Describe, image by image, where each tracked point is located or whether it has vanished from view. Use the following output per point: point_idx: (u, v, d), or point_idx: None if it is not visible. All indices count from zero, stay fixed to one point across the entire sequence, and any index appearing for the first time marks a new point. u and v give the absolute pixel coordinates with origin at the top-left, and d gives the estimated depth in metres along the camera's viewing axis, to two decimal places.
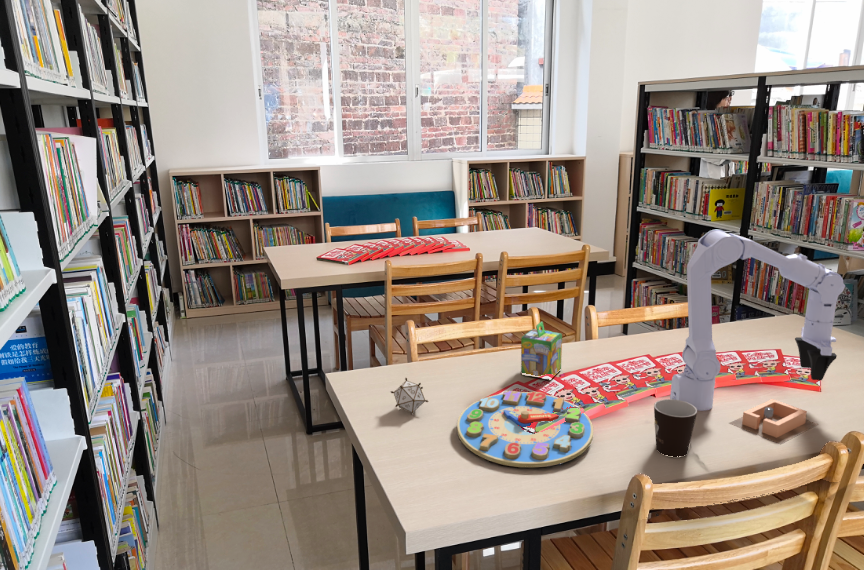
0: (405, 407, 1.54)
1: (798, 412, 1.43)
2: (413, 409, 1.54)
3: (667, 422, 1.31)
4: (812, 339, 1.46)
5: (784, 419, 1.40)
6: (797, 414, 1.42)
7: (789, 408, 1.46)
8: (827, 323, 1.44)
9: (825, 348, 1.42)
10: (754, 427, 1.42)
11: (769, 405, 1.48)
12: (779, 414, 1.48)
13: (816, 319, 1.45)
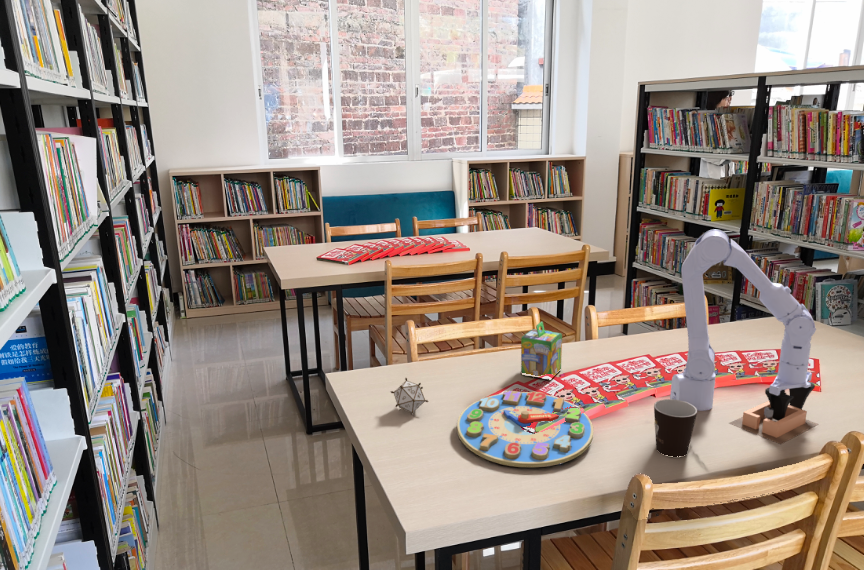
0: (405, 407, 1.54)
1: (798, 412, 1.43)
2: (413, 409, 1.54)
3: (667, 422, 1.31)
4: (778, 378, 1.45)
5: (784, 419, 1.40)
6: (797, 414, 1.42)
7: (789, 408, 1.46)
8: (791, 365, 1.42)
9: (772, 387, 1.42)
10: (754, 427, 1.42)
11: (769, 405, 1.48)
12: None
13: (786, 360, 1.42)
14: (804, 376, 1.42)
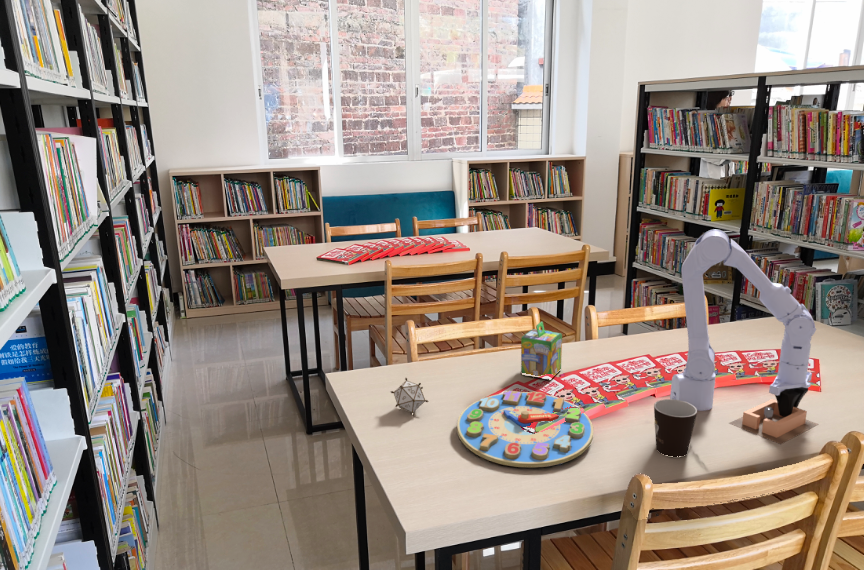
0: (405, 407, 1.54)
1: (798, 412, 1.43)
2: (413, 409, 1.54)
3: (667, 422, 1.31)
4: (778, 378, 1.45)
5: (784, 419, 1.40)
6: (797, 414, 1.42)
7: None
8: (791, 365, 1.42)
9: (772, 387, 1.42)
10: (754, 427, 1.42)
11: (769, 405, 1.48)
12: None
13: (786, 360, 1.42)
14: (804, 376, 1.42)
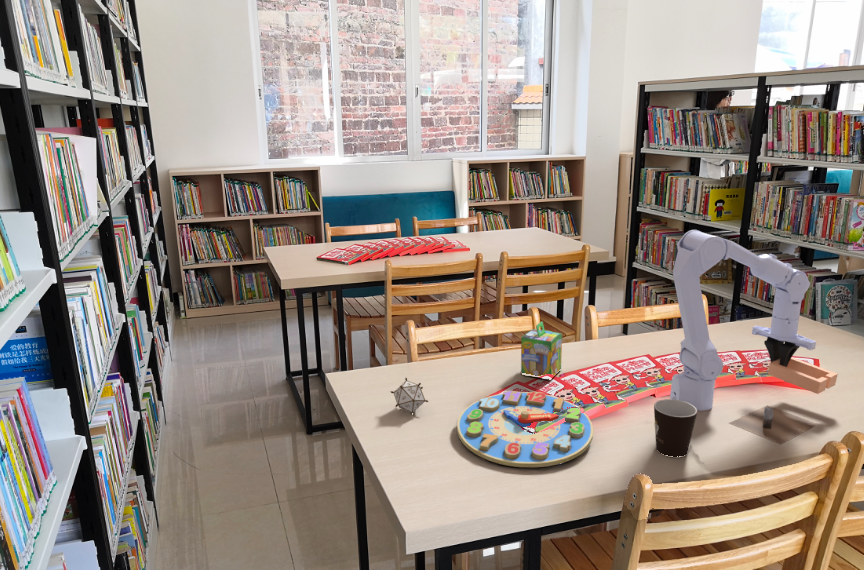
0: (405, 407, 1.54)
1: (794, 359, 1.56)
2: (413, 409, 1.54)
3: (667, 422, 1.31)
4: (789, 337, 1.51)
5: (819, 368, 1.51)
6: (800, 360, 1.55)
7: None
8: (798, 319, 1.51)
9: (813, 343, 1.48)
10: (824, 389, 1.47)
11: None
12: None
13: (785, 317, 1.50)
14: None
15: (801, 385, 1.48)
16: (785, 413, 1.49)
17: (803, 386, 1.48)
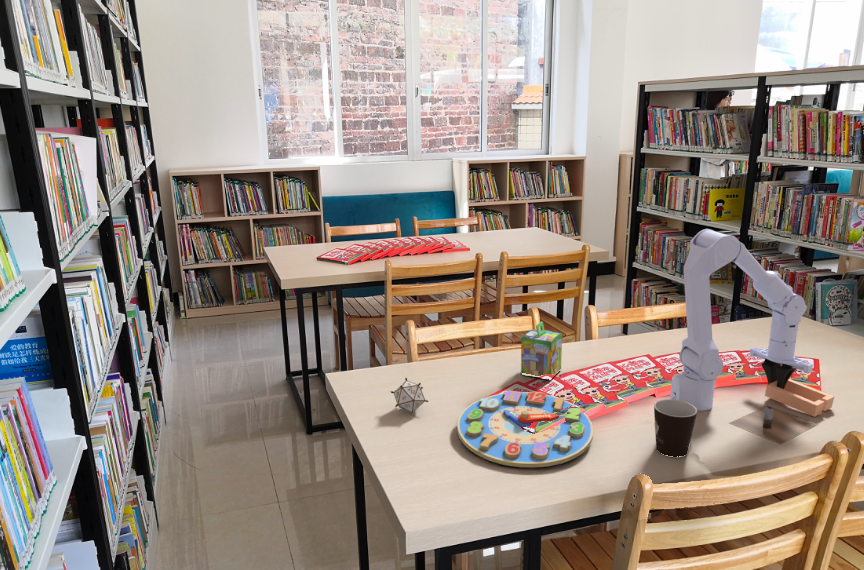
0: (405, 407, 1.54)
1: (791, 381, 1.57)
2: (413, 409, 1.54)
3: (667, 422, 1.31)
4: (786, 359, 1.52)
5: (816, 390, 1.53)
6: (797, 382, 1.57)
7: None
8: (795, 341, 1.52)
9: (809, 366, 1.49)
10: (821, 412, 1.48)
11: None
12: None
13: (782, 340, 1.51)
14: None
15: (798, 408, 1.50)
16: (785, 413, 1.49)
17: (800, 409, 1.49)
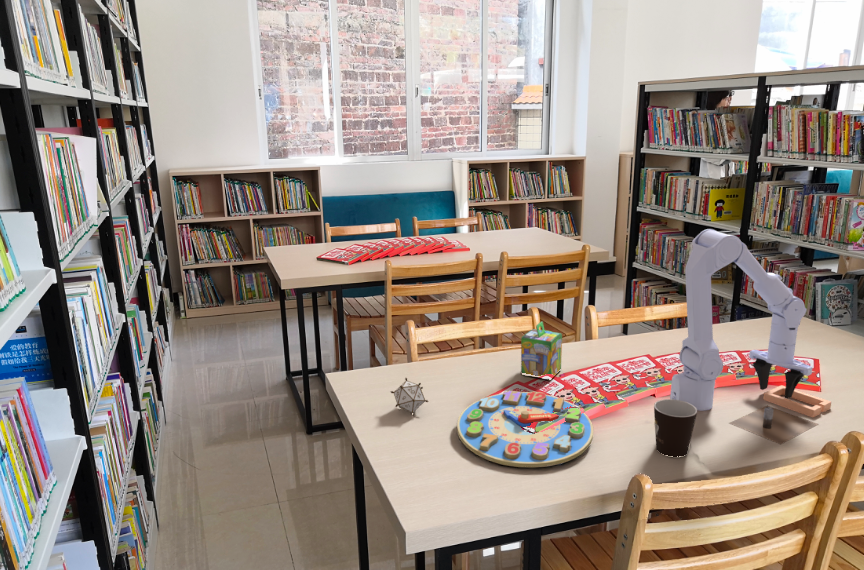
0: (405, 407, 1.54)
1: None
2: (413, 409, 1.54)
3: (667, 422, 1.31)
4: (786, 362, 1.52)
5: (813, 396, 1.54)
6: (794, 390, 1.58)
7: (779, 390, 1.58)
8: (795, 344, 1.52)
9: (809, 369, 1.49)
10: None
11: None
12: None
13: (782, 342, 1.52)
14: None
15: None
16: (785, 413, 1.49)
17: None
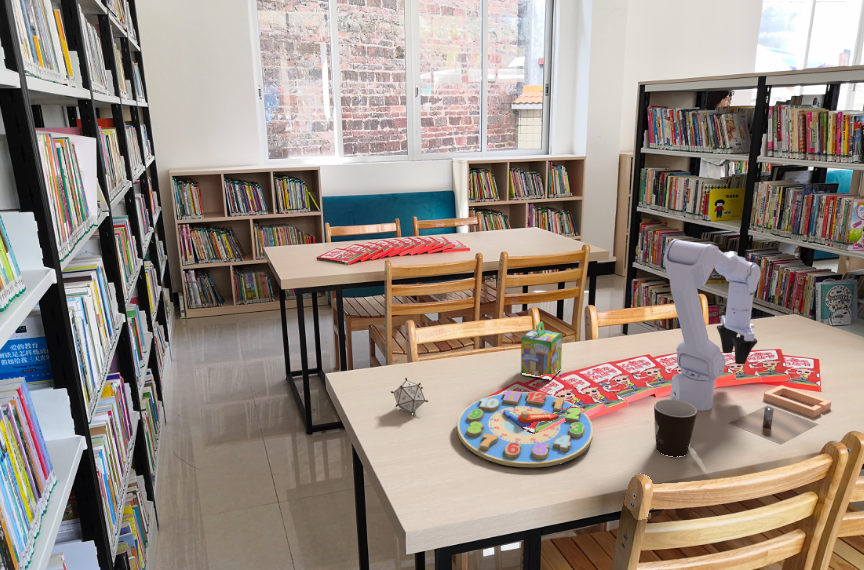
0: (405, 407, 1.54)
1: (788, 388, 1.58)
2: (413, 409, 1.54)
3: (667, 422, 1.31)
4: (735, 326, 1.57)
5: (813, 396, 1.54)
6: (794, 390, 1.58)
7: (779, 390, 1.58)
8: (747, 311, 1.56)
9: (748, 334, 1.53)
10: None
11: None
12: None
13: (744, 308, 1.56)
14: None
15: None
16: (785, 413, 1.49)
17: None
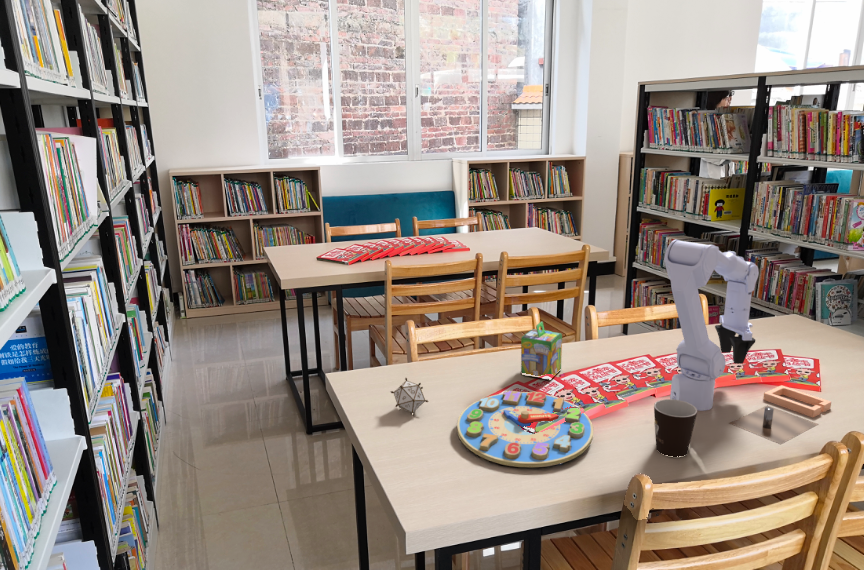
0: (405, 407, 1.54)
1: (788, 388, 1.58)
2: (413, 409, 1.54)
3: (667, 422, 1.31)
4: (733, 326, 1.58)
5: (813, 396, 1.54)
6: (794, 390, 1.58)
7: (779, 390, 1.58)
8: (745, 310, 1.56)
9: (746, 334, 1.53)
10: None
11: None
12: None
13: (742, 308, 1.56)
14: None
15: None
16: (785, 413, 1.49)
17: None
